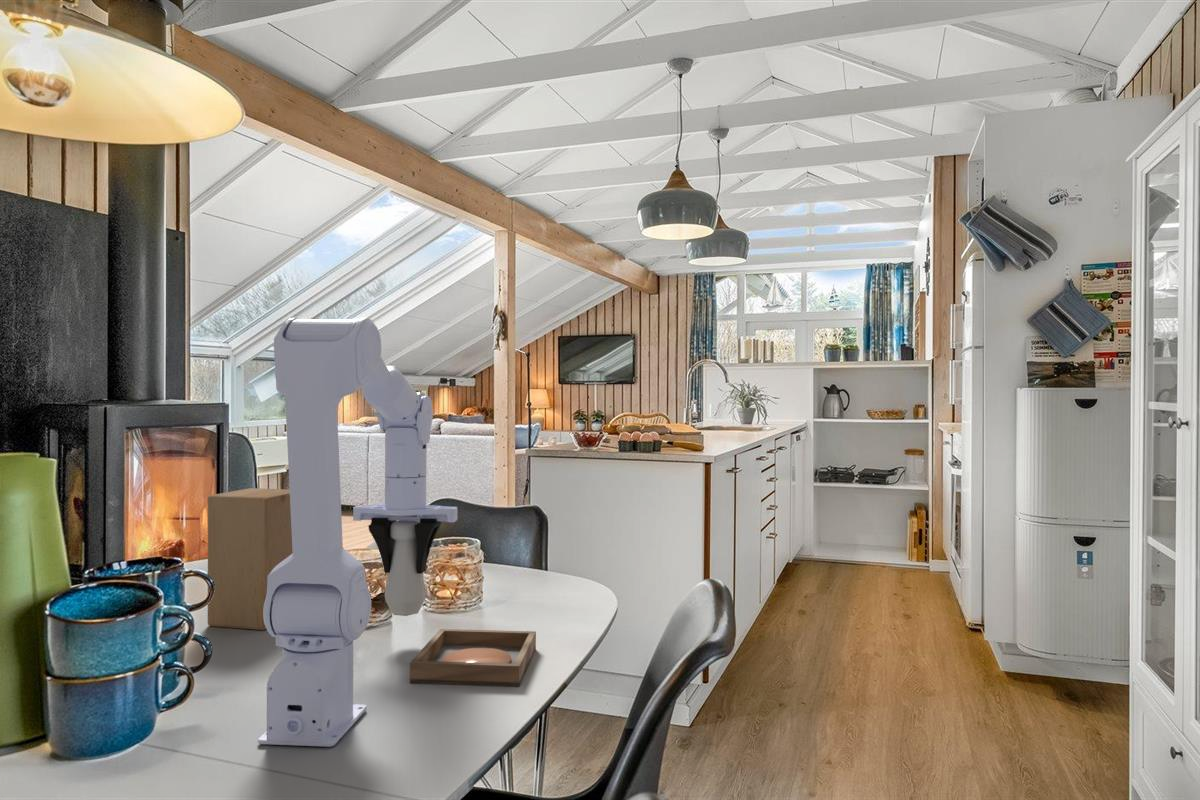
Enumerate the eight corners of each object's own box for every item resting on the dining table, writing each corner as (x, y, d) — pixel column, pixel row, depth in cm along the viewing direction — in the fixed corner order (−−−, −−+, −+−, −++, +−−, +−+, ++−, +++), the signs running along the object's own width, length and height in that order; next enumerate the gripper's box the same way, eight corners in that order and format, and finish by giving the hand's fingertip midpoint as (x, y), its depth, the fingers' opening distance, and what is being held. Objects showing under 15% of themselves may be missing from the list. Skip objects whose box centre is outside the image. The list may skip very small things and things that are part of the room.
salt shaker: (416, 619, 106) (416, 526, 105) (377, 616, 107) (377, 524, 106) (432, 606, 112) (432, 518, 111) (395, 603, 112) (395, 516, 112)
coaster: (504, 674, 96) (504, 672, 96) (433, 672, 96) (433, 670, 96) (516, 650, 105) (516, 648, 105) (451, 648, 105) (452, 646, 105)
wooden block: (303, 612, 124) (304, 489, 124) (264, 631, 114) (264, 497, 114) (249, 608, 126) (249, 487, 126) (206, 626, 116) (206, 495, 116)
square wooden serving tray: (519, 686, 93) (519, 666, 93) (409, 682, 94) (410, 662, 94) (535, 649, 107) (535, 631, 107) (440, 646, 108) (440, 628, 108)
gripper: (462, 473, 112) (462, 566, 112) (366, 472, 113) (365, 564, 113) (450, 479, 105) (449, 577, 105) (347, 477, 106) (346, 575, 106)
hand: (405, 571), depth 109 cm, fingers closed on salt shaker, 4 cm apart
